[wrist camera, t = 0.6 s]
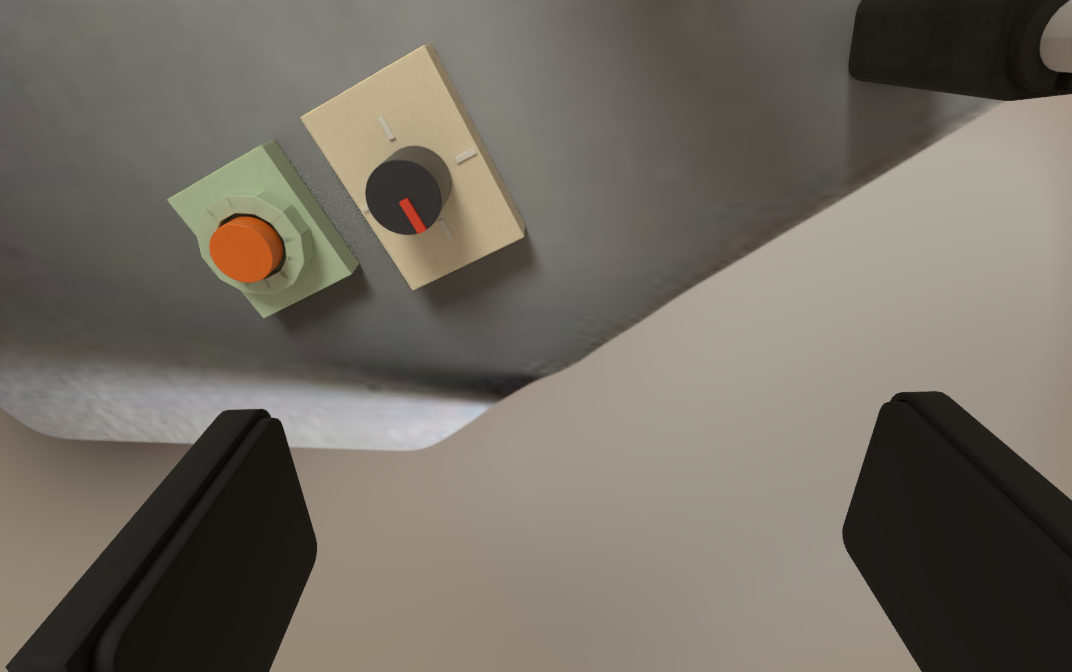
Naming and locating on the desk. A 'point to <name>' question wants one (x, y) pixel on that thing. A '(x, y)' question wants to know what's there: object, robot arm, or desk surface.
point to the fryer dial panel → (437, 124)
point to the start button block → (285, 205)
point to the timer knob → (408, 190)
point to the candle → (966, 46)
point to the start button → (246, 249)
